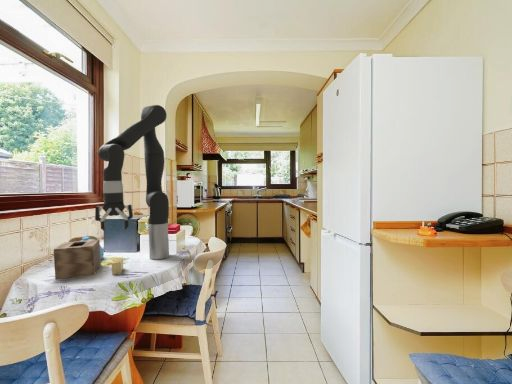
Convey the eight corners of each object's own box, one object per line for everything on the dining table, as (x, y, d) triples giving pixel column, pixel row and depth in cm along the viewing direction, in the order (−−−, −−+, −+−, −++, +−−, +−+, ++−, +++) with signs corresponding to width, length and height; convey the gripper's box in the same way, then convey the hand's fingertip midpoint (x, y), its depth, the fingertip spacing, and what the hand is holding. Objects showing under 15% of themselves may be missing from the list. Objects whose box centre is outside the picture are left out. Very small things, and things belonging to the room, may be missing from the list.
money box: (100, 264, 134) (99, 239, 133) (94, 274, 121) (92, 246, 120) (65, 268, 130) (64, 242, 129) (55, 278, 116) (53, 249, 116)
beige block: (123, 269, 127) (122, 257, 127) (121, 273, 121) (120, 262, 121) (114, 270, 126) (114, 258, 126) (112, 275, 120) (111, 263, 120)
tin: (67, 253, 156) (66, 238, 156) (68, 252, 159) (67, 237, 159) (98, 250, 162) (98, 235, 162) (99, 249, 165) (98, 234, 165)
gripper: (132, 190, 128) (134, 227, 129) (96, 192, 123) (98, 229, 124) (130, 191, 121) (132, 229, 121) (92, 192, 116) (94, 232, 117)
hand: (115, 229), depth 123 cm, fingers open, 8 cm apart
